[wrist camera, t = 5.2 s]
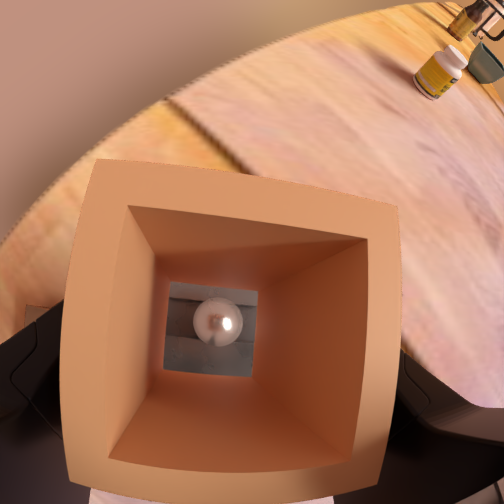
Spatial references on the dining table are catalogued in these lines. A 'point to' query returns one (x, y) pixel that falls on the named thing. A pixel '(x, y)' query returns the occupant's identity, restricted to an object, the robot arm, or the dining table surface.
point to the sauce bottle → (467, 20)
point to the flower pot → (485, 65)
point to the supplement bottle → (440, 72)
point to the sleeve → (265, 345)
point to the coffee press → (490, 19)
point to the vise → (210, 330)
